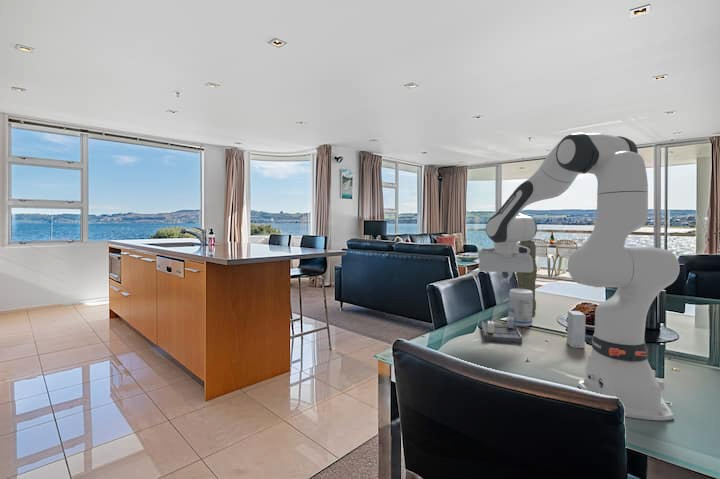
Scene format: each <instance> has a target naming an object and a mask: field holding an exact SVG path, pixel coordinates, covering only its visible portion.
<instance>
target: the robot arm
mask: <svg viewBox="0 0 720 479" xmlns="http://www.w3.org/2000/svg"><path fill="white" fill-rule="evenodd" d="M646 168H647V167H646V165H645V160H644V157H643V156H642V155H641V154H639V150H638V147H637V144H636V143H635V142H634V141H633V140H632V139H629V138H627V137H623V136H619V135H618V136H615V135H610V134H604V133H599V132H598V133H597V132H590V133H584V132H575V133H571V134H568V135H566V136H565V137H563V138H562V139H561V140H560V141H559V142H558V143H557V144H556V145H555V146H554V147H553V148H552V149H551V150H550V152H549V153H548V155H546V157H545V159H544V160H543V162H542V163H541V164H540V166H539V168H538V169H537V170H536V171H535V172H534V173H533V174H532V175H531V176H530V177H529V178H528V179H526V180H525V181H524V182H522V183H521V184H519V186H517V187H516V188H515V190H514V191H513V192H512V193H511V194H510V196H509V197H508V198H507V199H506V201H505V202H504V204H503V205H502V206H501V207H500V208H497V210H496V211H495V213H494V214H493V215H492V216H491V217H490V218H489V219H488V220H487V223H486V225H485V233H486V235H487V237H488V238H489V239H490V240H491V241H492V242H493V248H492V247H491V248H489V247H488V248H485V247H482V248H480V249H479V250H478V252H477V257H478V259H479V260H478V261H479V262H478V270H479V271H480V272H489V273H491V272H495V273H497V275H498V277H499V278H500V283H501V284H510V279H511V278H512V277H513V273H516V272H526V273H531V272H532V271H533V259H532V256H531V255H529V253H530V249H529V248H527V247H524V246H522V245H519V243H518V242H520V241H528V240H531V241H532V240H533V239H534V238H535V236H536V234H537V232H538V225H537V222H536V220H535V218H534V217H532V216H529V215H526V214H523V213H521V212H522V210H523V209H525V208H526V207H527V206H529V205H531V204H533V203H537V202H541V201H544V200H549V199H550V200H551V199H553V198H557V197H560V196H561V195H562V194H564V193H565V192H566V191H568V189H569V188H570V186H571V185H572V184H573V183H574V181H575V180H576V178H577V177H578V175H579V174H586V173H587V174H591V175H592V174H593V175H594V176H595V177H596V181H597V189H596V196H597V197H596V217H595V223H594V226H593V230H592V232H591V233H590V235H589V236H588V238H587V240H586V241H585V242H584V243H583V244H581V245H580V246H579V247H578V248H577V249H575V250H574V251H573V252H572V253H571V254H570V256H569V258H568V262H567V270H568V274H569V275H570V277H571V279H572V281H574V282H575V283H576V284H578V285H583V286H586V287H587V286H588V287H594V288H616V291H615V292H614V294H613V295H612V296H611V297H609V298H608V299H606V300H604V301H602V302H600V303H599V304H598V305H597V307H596V308H595V312H594V333H593V334H592V336H591V337H592V339H591V348H592V350H591V351H590V352H589V353H588V355H587V356H585V363H584V372H583V373H584V374H583V379H581V380H579V381H577V387H579V388H580V389H581V390H582V389H584V390H588V391H592V392H596V393H600V394H605V395H610V396H616V397H618V398H620V400H621V401H622V402H623V404H624V406H625V413H626V415H625V416H624V417H628V418H632V419H633V418H634V419H639V420H640V419H642V420H650V421H670V420H673V419H674V413H673V412H672V411H671V409H670V407H669V405H668V404H667V403H666V401H665V399H664V398H663V397H662V391H664V390H665V382H664V381H663V380H659V379H657V378H656V375H657V373H656V370H654V369H652V367H651V365H650V363H649V361H648V358H649V355H648V347H647V343H646V341H645V336H646V335H645V332H646V322H647V316H648V311H649V310H650V307H651V305H652V304H653V301H655V299H656V297H657V296H658V295H659V294H660V293H661V292H662V291H663V290H664V289H666V288H667V287H669V286H671V285H673V283H675V281H676V280H677V279H678V277H679V275H680V271H681V270H680V269H681V268H680V261H679V259H678V258H677V256H676V255H675V254H674V253H673V252H672V251H671V250H668V249H665V248H660V247H655V246H648V245H646V246H643V245H642V246H641V245H639V246H637V245H635V246H634V245H633V246H631V245H625V242H626V240H627V238H628V236H629V235H630V234H632V233H634V232H635V231H637V230H640V229H642V228H643V227H644V226H645V225H646V223H647V221H648V219H649V216H648V215H649V185H648V184H649V183H648V175H647V169H646ZM503 273H507V274H508V276H507V278H504V277H503Z"/></svg>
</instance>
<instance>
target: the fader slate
mask: <svg viewBox="0 0 720 479" xmlns="http://www.w3.org/2000/svg"><path fill="white" fill-rule="evenodd" d="M506 317H507V319H506V321H507V322H506V324H507V326H508V328H514V319H513V317H508V316H506Z"/></svg>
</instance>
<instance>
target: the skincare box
mask: <svg viewBox="0 0 720 479" xmlns="http://www.w3.org/2000/svg"><path fill="white" fill-rule="evenodd" d="M586 316H587V315H586V314H584V313H582V312H581V311H580V310H567V326H566V329H567V330H566V343H567V344H568V345H569V346H570V347H571V348H574V349H575V348H578V349H579V348H580V349H585V347H586V345H585V344H586V321H587V320H586Z"/></svg>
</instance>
